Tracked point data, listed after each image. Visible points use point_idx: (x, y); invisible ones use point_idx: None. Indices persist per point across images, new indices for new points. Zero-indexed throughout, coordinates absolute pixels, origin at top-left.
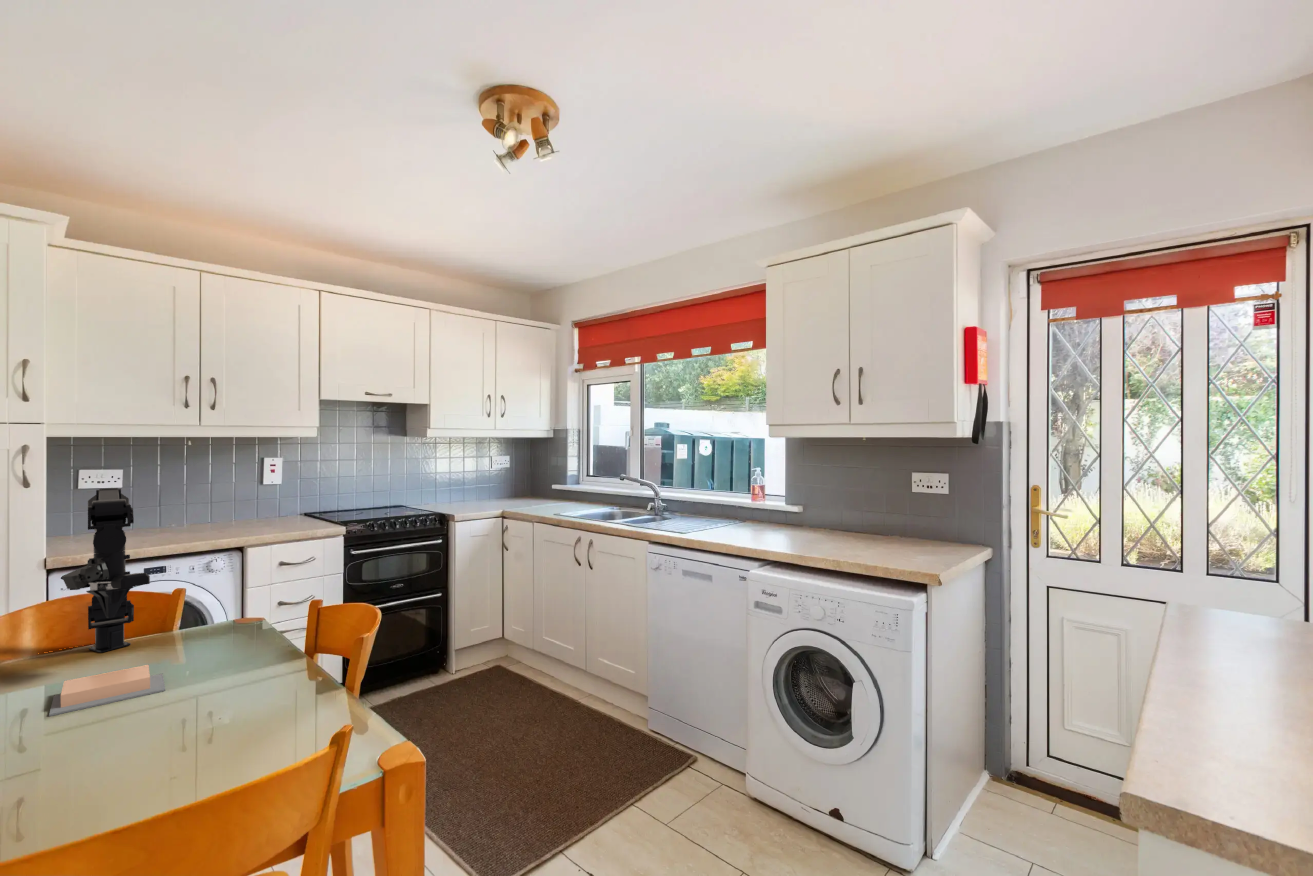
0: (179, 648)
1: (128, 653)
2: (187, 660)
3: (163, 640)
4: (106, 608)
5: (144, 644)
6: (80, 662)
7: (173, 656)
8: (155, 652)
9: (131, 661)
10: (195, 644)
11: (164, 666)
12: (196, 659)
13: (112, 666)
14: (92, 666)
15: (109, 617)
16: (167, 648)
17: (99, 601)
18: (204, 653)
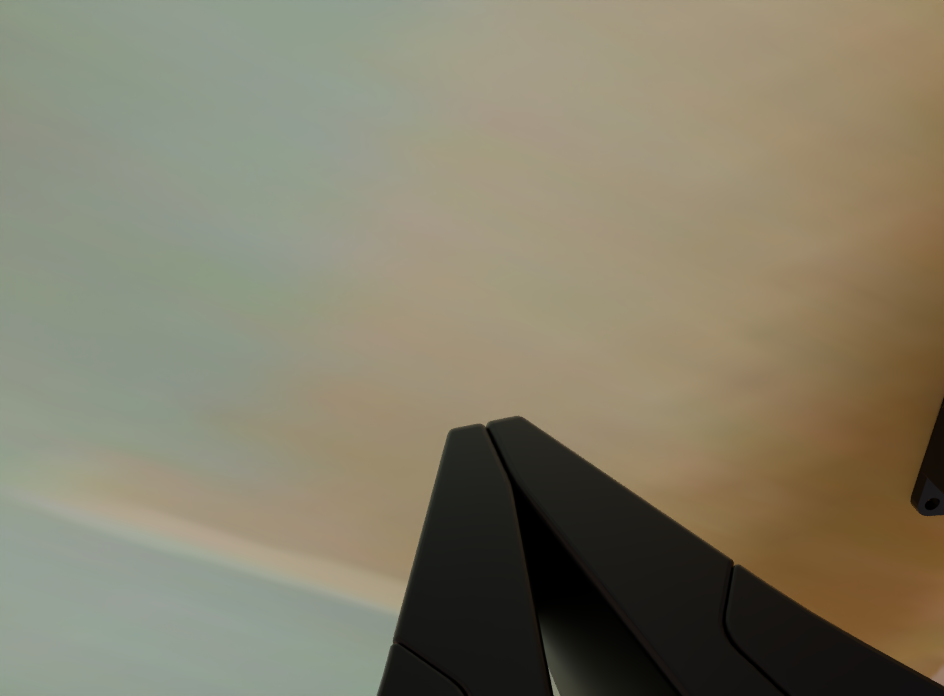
0: None
1: (739, 420)
2: (82, 531)
3: None
4: (489, 544)
5: (830, 552)
6: (921, 152)
7: (304, 527)
8: None
9: (499, 344)
10: None
11: (78, 398)
12: (44, 567)
13: (517, 217)
14: (698, 143)
15: (448, 441)
16: None
17: (825, 635)
18: (157, 641)
